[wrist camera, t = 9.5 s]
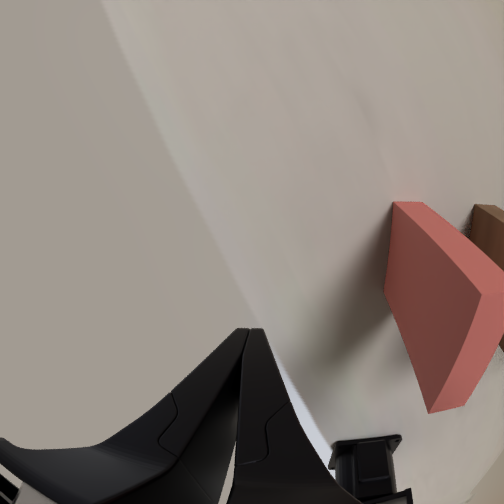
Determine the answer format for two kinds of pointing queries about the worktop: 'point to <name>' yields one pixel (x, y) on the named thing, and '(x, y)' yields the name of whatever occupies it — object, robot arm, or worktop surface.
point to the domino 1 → (443, 303)
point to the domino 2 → (489, 235)
